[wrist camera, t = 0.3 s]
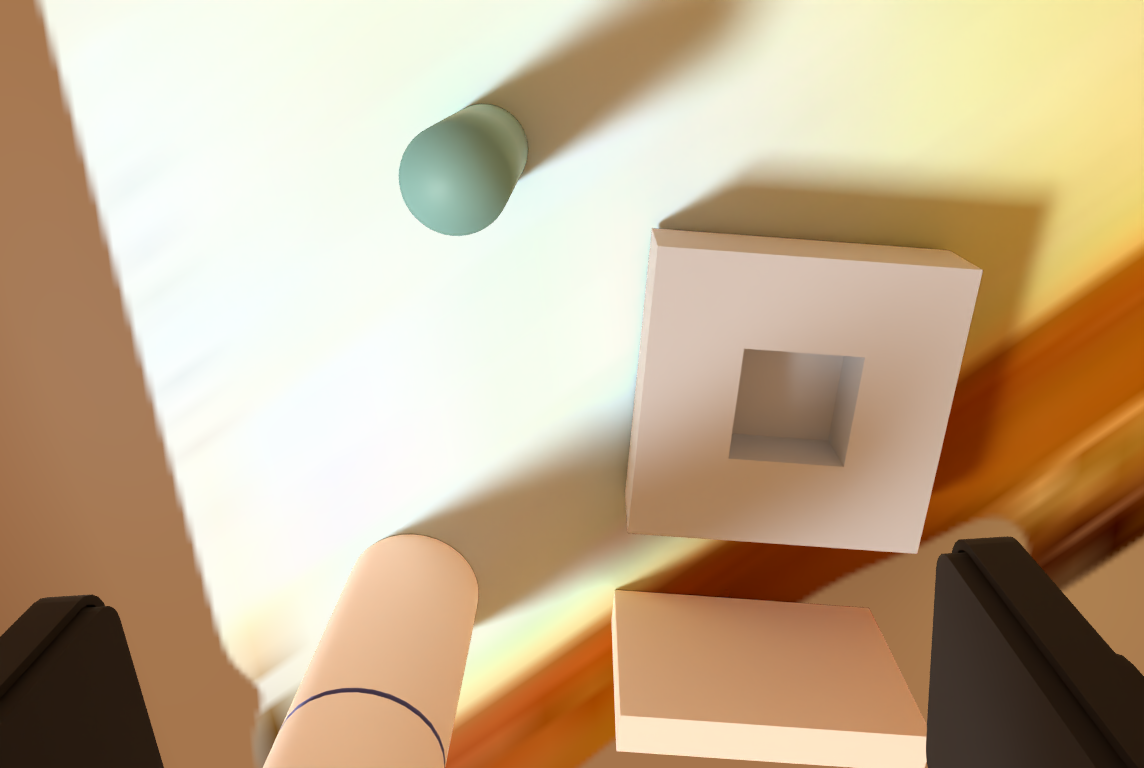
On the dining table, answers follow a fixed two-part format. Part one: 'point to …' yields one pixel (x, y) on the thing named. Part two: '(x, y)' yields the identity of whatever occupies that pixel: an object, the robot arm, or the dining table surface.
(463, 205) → the dowel
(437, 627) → the cylindrical container
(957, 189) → the dining table surface
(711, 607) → the wall
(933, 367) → the socket block
